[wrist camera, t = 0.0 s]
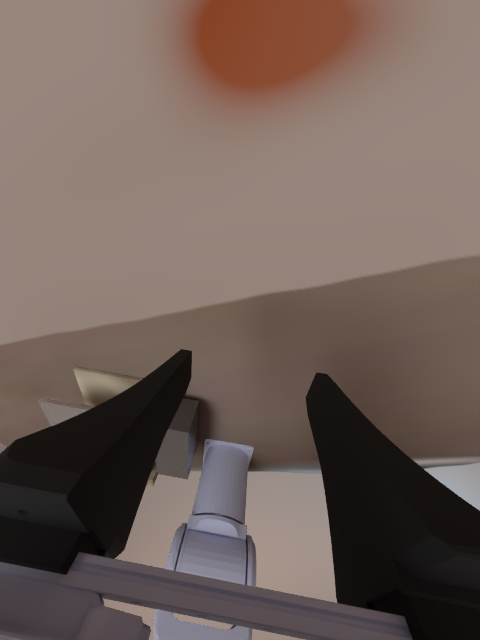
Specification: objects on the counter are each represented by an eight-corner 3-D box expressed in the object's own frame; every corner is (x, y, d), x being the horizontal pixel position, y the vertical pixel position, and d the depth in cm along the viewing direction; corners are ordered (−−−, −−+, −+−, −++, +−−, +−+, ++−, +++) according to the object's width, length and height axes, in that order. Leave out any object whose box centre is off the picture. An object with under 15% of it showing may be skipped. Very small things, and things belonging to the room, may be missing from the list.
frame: (169, 445, 33) (153, 485, 28) (98, 432, 33) (70, 469, 28) (164, 377, 26) (141, 415, 21) (73, 361, 26) (29, 394, 21)
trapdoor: (196, 449, 32) (187, 481, 28) (90, 429, 32) (66, 458, 28) (199, 397, 26) (188, 429, 22) (69, 374, 26) (35, 401, 22)
